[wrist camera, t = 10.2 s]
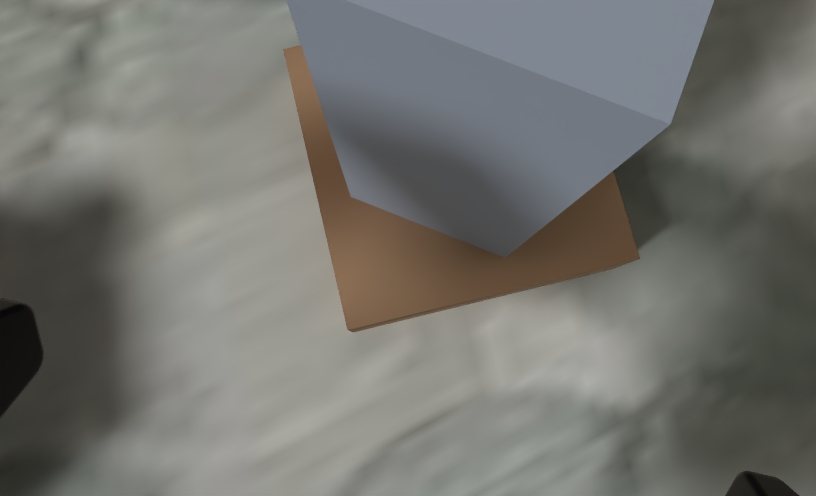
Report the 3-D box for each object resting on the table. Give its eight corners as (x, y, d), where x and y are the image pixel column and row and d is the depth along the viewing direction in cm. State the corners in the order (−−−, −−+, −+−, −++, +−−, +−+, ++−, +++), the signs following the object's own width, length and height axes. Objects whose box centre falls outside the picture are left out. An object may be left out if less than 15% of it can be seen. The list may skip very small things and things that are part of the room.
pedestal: (608, 270, 23) (639, 258, 20) (354, 332, 22) (347, 329, 19) (538, 33, 24) (558, -12, 21) (298, 87, 23) (283, 49, 20)
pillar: (505, 258, 19) (670, 125, 8) (350, 196, 20) (278, -26, 8) (561, 109, 20) (793, -225, 8) (412, 52, 20) (430, -354, 9)
